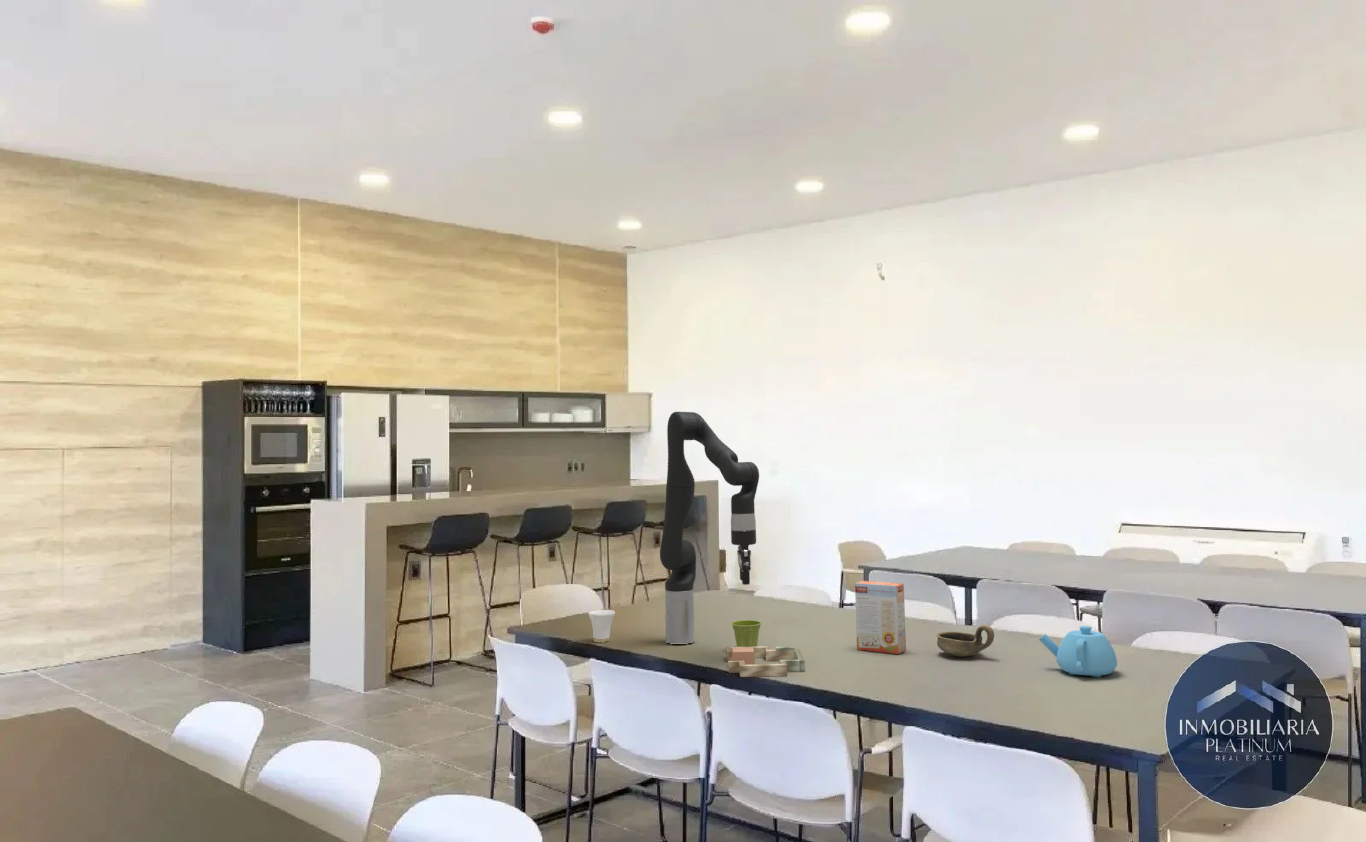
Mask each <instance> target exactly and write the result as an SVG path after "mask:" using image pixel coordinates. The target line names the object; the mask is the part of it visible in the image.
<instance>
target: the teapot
mask: <svg viewBox="0 0 1366 842" xmlns="http://www.w3.org/2000/svg"><path fill="white" fill-rule="evenodd" d="M1038 640H1039V642H1041V643H1042V645H1044V646H1045V648H1046V649H1047V650H1048V651H1050V653H1052V654H1053V655H1054V657H1056V659H1055V660H1056V663H1057V665H1058V666H1059V667H1060V669H1061V670H1062V671H1064V672H1066V673H1068V675H1071V676H1077V675H1079V676H1091V677H1092V678H1101V677H1102V676H1105V675H1110V674H1111V673H1112V672H1113V671H1114V670H1116V668H1117V667H1118V659H1117V655H1116V652H1115V649H1114V647H1113V646H1112V644H1111V643H1110V641H1109V640H1108V638H1107V636H1106V635H1105V634H1104V633H1102V632H1099V631H1096V630H1095V631H1094V630H1092V627H1091V626H1090V625H1080V626H1079V630H1071V631H1068V632H1067V633H1066V635H1065V636H1064V637H1063V639H1062V641H1061V642H1060V645H1059V646H1058V645H1057V644H1056V643H1055V642H1054V641H1053V640H1052V639H1051V638H1050V637H1049V635H1047V634H1046V633H1045V634H1043V635H1042V636H1041V637H1040V638H1038Z"/></svg>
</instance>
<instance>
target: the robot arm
mask: <svg viewBox="0 0 1366 842" xmlns="http://www.w3.org/2000/svg"><path fill="white" fill-rule="evenodd" d="M666 427H667V428H666V429H667V430H666V433H667V435H666V436H667V437H666V438H667V472H666V473H667V474H666V486H665V509H664V519H663V530H662V536H661V542H660V549H659V559H660V562H661V565H662V566H663V567H664V568H665V569H667V570H669V571H671V572H670V575H669V577H668V579H666V580H665V583H664V591H665V592H664V593H665V594H664V595H665V600H664V601H665V618H664V619H665V644H666V643H692V644H694V643H695V642H694V641H695V639H696V638H695V609H694V607H695V603H694V585H695V581H696V573H697V571H696V570H697V569H696V567H697V555H696V553H697V552H696V550H695V547H694V545H693V543H692V542H691V541H689V540H688V539H683V534H684V527H685V524H686V521H687V520H688V519H687V518H688V517H689V515H690V512H691V510H692V507H693V505H694V500H695V488H696V487H695V485H696V484H695V477H694V475H693V473H692V470H691V468H690V465H688V462H687V459H686V457H685V441H696V442H698V443H700V444H701V445H703V448H704V453H705V456H706V459H708V460H709V462H710V463H712V464H713V465H714V466H715V467H716V468H717V469H718V470H719V472H720V473H721V476H722V478H723V479H724V482H726V483H727V484H729V485H731V486H733V487H740V486H741V488H740V490H739V492H737V493H734V494H733V495H732V496H731V499H730V506H731V507H730V511H731V512H730V513H731V515H730V536H731V537H730V540H731V543H730V544H731V545H734V546H738V547H737V550H736V554H737V555H736V556H737V564H738V567H739V579H740V581H741V583H742V585H743V586H745V585H746V586H747V585H750V583H751V580H750V579H751V576H750V572H751V569H752V567H751V565H752V559H751V557H752V551H751V550H750V549H749V546H752V545H753V546H754V545H756V544H757V522H756V520H757V519H756V514H755V498H756V495H757V489H758V484H759V480H760V472H759V468H758V465H756V464H755V463H754V462H752V461H742V462H741V461H740V462H739V458H738V457H739V456H738V455H737V453H736V452H735V451H734V450H732V449H731V448H730V447H729V446H728V445H727V444H725V443H724V442H723V441H722V439H720V438H719V437H718V435H716V433H715V431H714V430H713V428H711V427H710V425H709V424H708V423H707V421H706V420H705V419H704V417H702V415H700V414H699V413H697V412H693V411H674V412H672V413H671V414H670V416H669V417H668V421H667V426H666ZM693 642H694V643H693Z"/></svg>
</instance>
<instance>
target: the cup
mask: <svg viewBox="0 0 1366 842" xmlns="http://www.w3.org/2000/svg"><path fill="white" fill-rule="evenodd" d="M587 615H588V616H589V619H590V622H591V626H592V634H593V636H592V639H593V638H596V639H606V638H609V637H611V627H612V623H613V619H614V617H615V615H616V611H615V610H612V609H611V610H610V609H596V610H590V611H589V612H588V613H587Z"/></svg>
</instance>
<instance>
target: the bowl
mask: <svg viewBox="0 0 1366 842" xmlns="http://www.w3.org/2000/svg"><path fill="white" fill-rule="evenodd" d="M983 631H984V632H985V633H986V635H987V638H986V641H985V642H984V643H983V637H982V633H983ZM936 637H937V641H936V644H937V647H938V648H939V649H940V650H941V651H942V652H944V653H945V654H948V655H950V656H955V657H960V658H965V657H970V656H974V655H977V654H978V653H981V652H982V651H983V650H986V649H987V648H989V647H990V646H991V645H992V644H993V642H994V640H995V632H994V630H993V628H992V627H991V626H990V625H987V624H982V625H980V626H979V627H977V629H976V631H975V634H973V633H968V632H963V631H942V632H938V633H936Z"/></svg>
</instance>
